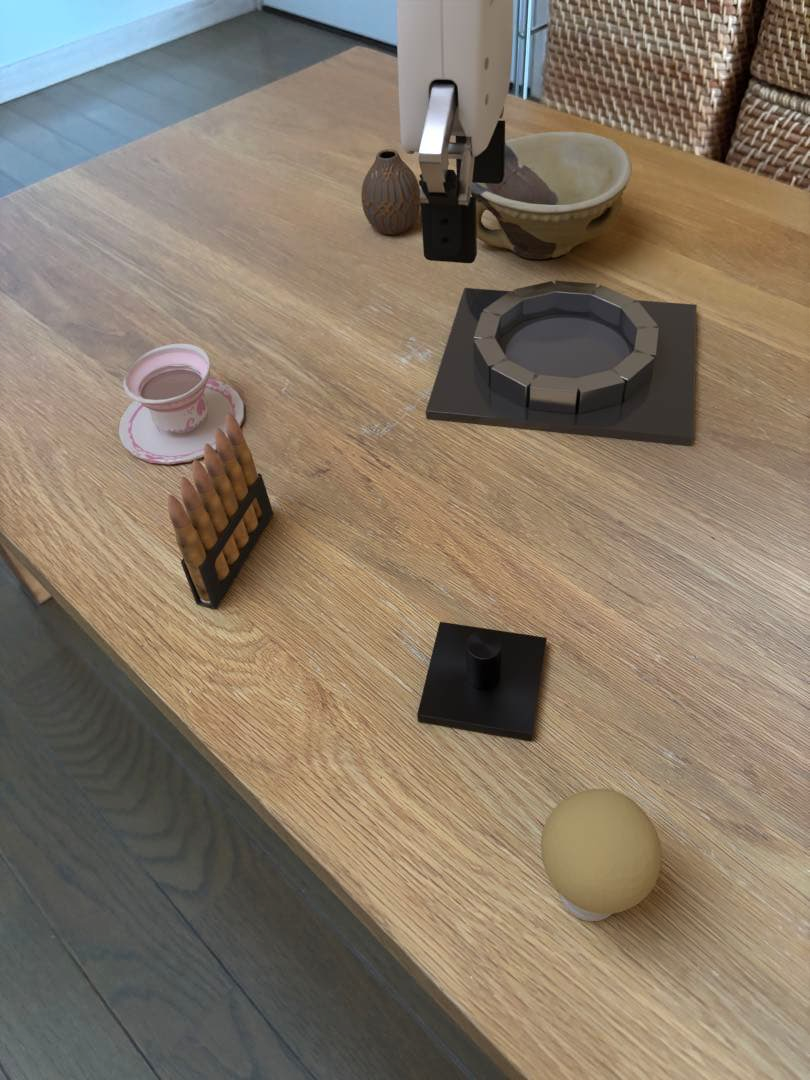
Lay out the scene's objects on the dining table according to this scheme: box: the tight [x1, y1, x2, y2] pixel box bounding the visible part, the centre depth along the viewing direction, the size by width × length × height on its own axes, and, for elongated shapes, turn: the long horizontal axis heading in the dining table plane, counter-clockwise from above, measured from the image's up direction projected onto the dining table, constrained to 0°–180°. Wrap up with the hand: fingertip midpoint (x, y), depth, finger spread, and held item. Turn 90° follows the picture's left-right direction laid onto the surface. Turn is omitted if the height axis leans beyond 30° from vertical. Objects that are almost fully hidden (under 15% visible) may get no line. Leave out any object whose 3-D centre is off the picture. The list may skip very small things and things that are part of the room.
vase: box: [360, 148, 421, 236], centre depth 100 cm, size 7×7×9 cm
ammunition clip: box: [167, 413, 274, 610], centre depth 67 cm, size 11×2×12 cm, turn 160°
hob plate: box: [425, 287, 698, 447], centre depth 84 cm, size 24×20×1 cm
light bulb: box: [540, 788, 663, 922], centre depth 48 cm, size 6×6×10 cm
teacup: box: [118, 343, 245, 465], centre depth 80 cm, size 12×12×6 cm
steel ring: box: [474, 280, 659, 414], centre depth 83 cm, size 17×17×3 cm
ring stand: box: [416, 621, 548, 742], centre depth 60 cm, size 8×8×5 cm
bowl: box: [470, 131, 633, 260], centre depth 95 cm, size 18×18×10 cm
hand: (466, 218), depth 56 cm, fingers open, 9 cm apart
